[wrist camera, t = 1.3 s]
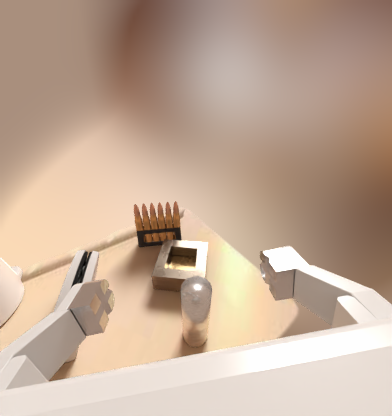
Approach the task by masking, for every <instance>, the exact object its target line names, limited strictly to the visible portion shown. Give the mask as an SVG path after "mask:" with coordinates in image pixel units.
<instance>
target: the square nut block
mask: <svg viewBox="0 0 392 416" xmlns="http://www.w3.org/2000/svg"><path fill="white" fill-rule="evenodd" d="M206 257H207V243H205V242H192V241H179V240H167V239H164V241H163V244H162V247H161V250H160V253H159V256H158V259H157V261H156V264H155V267H154V270H153V273H152V276H151V277H152V282H153V287H154V289H161V290H171V291H181V286H182V284H183V282H184V281H185V280H186V279H187V278H189V277H192V276H200V277H203V278H205V272H206Z"/></svg>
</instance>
